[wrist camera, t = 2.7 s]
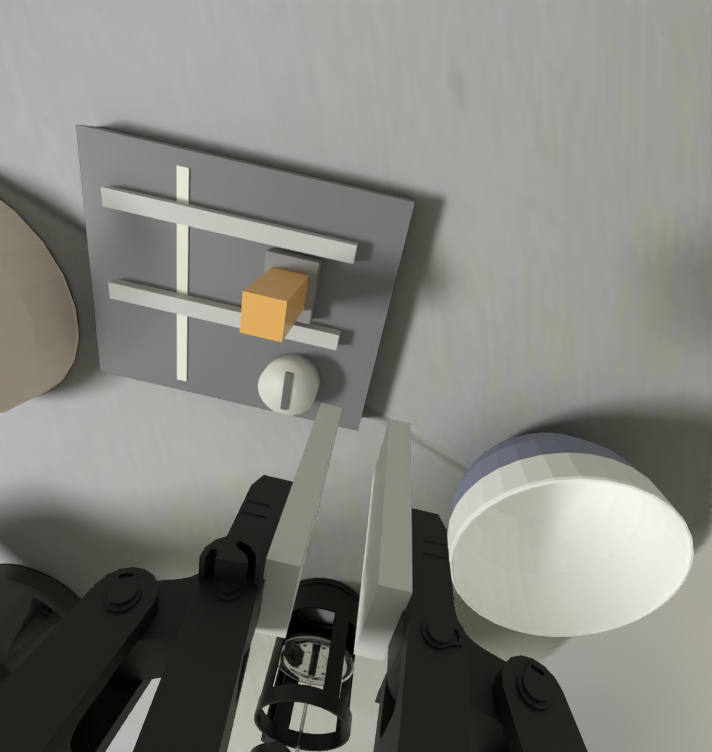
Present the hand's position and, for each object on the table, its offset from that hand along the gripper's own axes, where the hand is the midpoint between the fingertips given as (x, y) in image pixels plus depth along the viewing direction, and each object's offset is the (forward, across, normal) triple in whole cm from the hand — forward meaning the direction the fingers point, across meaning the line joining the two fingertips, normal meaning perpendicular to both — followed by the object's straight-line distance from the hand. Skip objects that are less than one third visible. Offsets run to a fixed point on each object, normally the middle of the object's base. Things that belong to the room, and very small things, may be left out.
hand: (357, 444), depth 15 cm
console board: (+18, -10, -2) cm, 21 cm away
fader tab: (+16, -6, 0) cm, 18 cm away
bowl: (+19, +16, -13) cm, 28 cm away
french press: (+19, +2, -38) cm, 42 cm away
